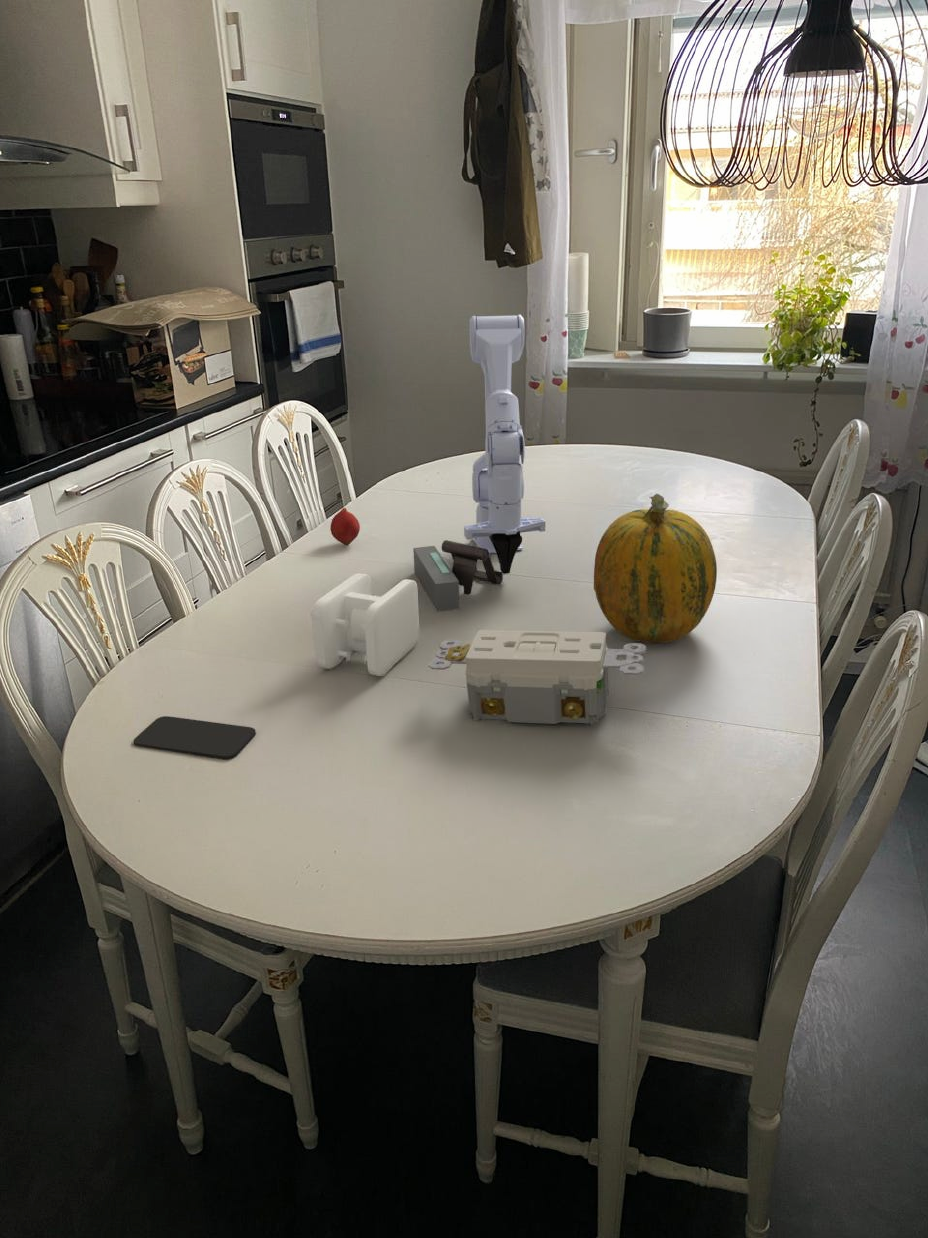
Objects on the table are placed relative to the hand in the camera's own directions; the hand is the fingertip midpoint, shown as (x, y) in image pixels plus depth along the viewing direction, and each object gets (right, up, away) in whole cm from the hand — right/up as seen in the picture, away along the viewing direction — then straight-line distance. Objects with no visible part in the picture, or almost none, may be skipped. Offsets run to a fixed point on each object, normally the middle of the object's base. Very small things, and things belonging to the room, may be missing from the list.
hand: (505, 571), depth 171 cm
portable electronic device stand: (-6, -3, 0) cm, 7 cm away
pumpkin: (+22, -11, -19) cm, 31 cm away
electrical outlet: (+3, -21, -40) cm, 45 cm away
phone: (-43, -25, -45) cm, 67 cm away
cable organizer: (-22, -15, -26) cm, 37 cm away
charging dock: (-12, -3, -2) cm, 13 cm away
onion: (-31, +6, +20) cm, 38 cm away
